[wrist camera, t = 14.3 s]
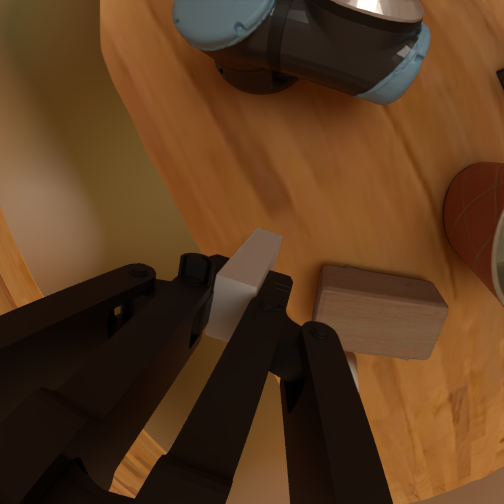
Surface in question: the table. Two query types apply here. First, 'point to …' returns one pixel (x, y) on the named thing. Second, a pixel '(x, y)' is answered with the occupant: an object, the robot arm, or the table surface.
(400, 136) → the table surface
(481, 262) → the planter
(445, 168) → the table surface
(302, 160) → the table surface
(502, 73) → the small box
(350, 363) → the white rounded cylinder
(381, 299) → the wooden block
